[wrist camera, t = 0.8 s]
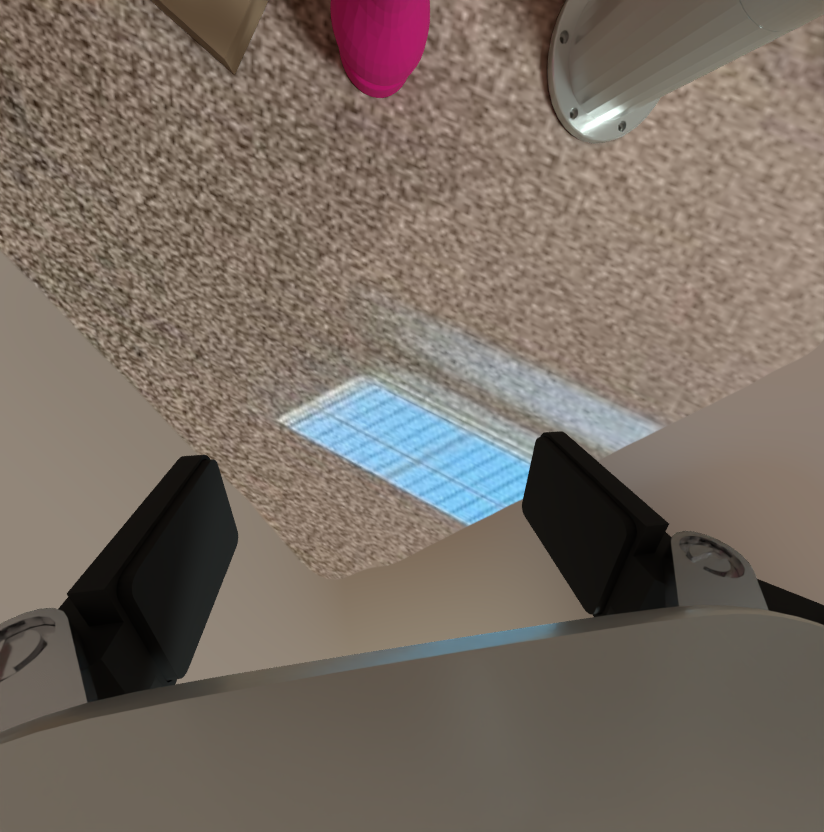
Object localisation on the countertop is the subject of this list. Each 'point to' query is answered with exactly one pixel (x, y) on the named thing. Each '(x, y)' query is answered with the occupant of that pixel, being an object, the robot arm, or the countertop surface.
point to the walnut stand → (217, 25)
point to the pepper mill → (380, 41)
